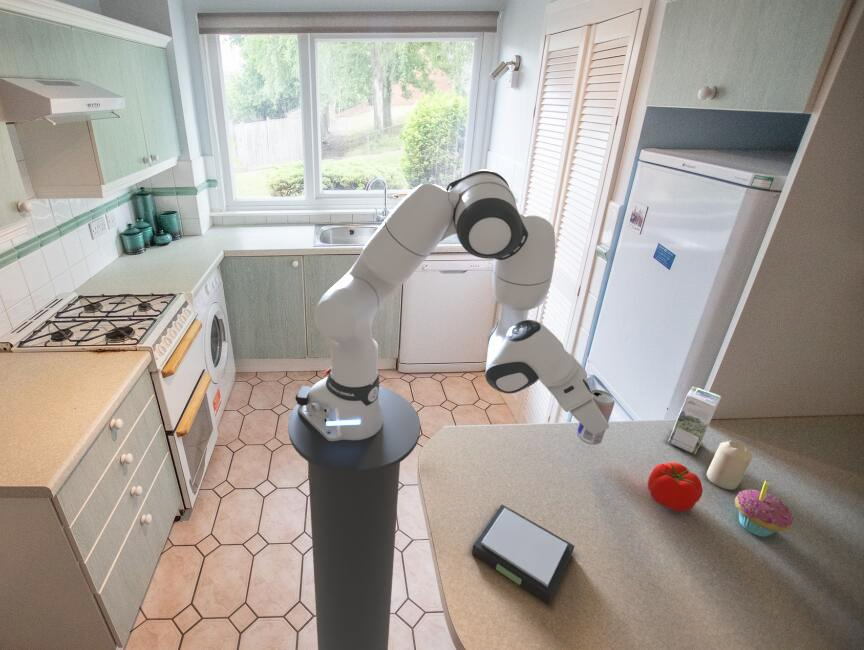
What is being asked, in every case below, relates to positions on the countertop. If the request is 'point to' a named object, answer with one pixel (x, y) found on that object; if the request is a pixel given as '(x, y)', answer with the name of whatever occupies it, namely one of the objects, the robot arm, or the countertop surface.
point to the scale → (524, 552)
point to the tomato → (674, 486)
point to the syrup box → (694, 419)
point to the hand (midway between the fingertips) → (598, 416)
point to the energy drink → (606, 407)
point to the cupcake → (762, 512)
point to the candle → (729, 464)
